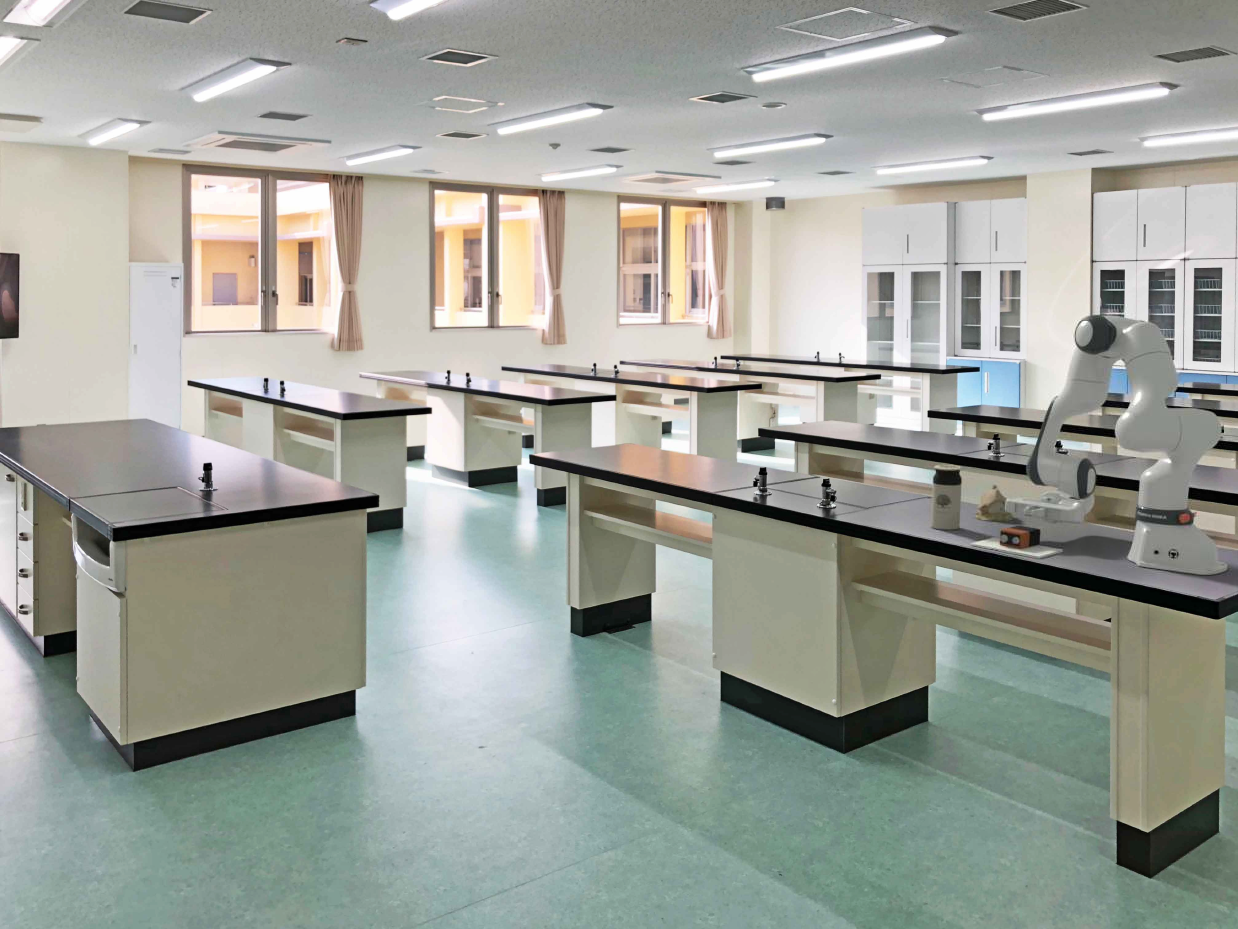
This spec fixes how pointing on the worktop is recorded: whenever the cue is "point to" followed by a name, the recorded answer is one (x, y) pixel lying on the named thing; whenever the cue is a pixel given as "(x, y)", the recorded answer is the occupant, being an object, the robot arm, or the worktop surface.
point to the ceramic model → (993, 506)
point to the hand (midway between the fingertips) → (1028, 513)
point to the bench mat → (1029, 551)
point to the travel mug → (946, 497)
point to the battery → (1020, 537)
